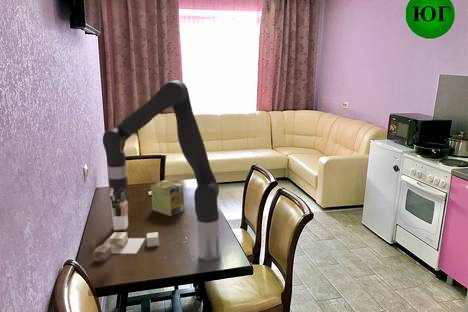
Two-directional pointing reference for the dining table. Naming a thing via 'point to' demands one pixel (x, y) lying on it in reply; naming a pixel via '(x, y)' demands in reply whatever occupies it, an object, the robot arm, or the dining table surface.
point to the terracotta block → (122, 209)
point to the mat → (127, 246)
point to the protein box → (167, 197)
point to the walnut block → (102, 253)
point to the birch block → (118, 240)
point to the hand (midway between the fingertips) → (120, 213)
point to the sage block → (152, 239)
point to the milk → (119, 219)
